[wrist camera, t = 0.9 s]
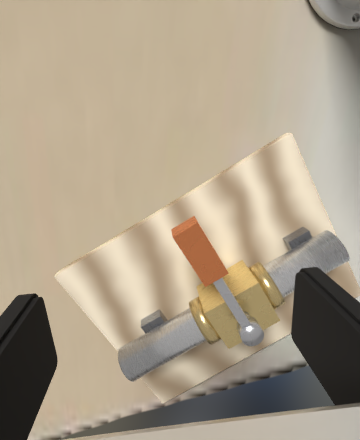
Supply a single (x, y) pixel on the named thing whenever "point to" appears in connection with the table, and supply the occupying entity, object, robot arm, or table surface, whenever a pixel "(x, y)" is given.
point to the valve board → (182, 270)
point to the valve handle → (214, 275)
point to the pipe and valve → (219, 311)
